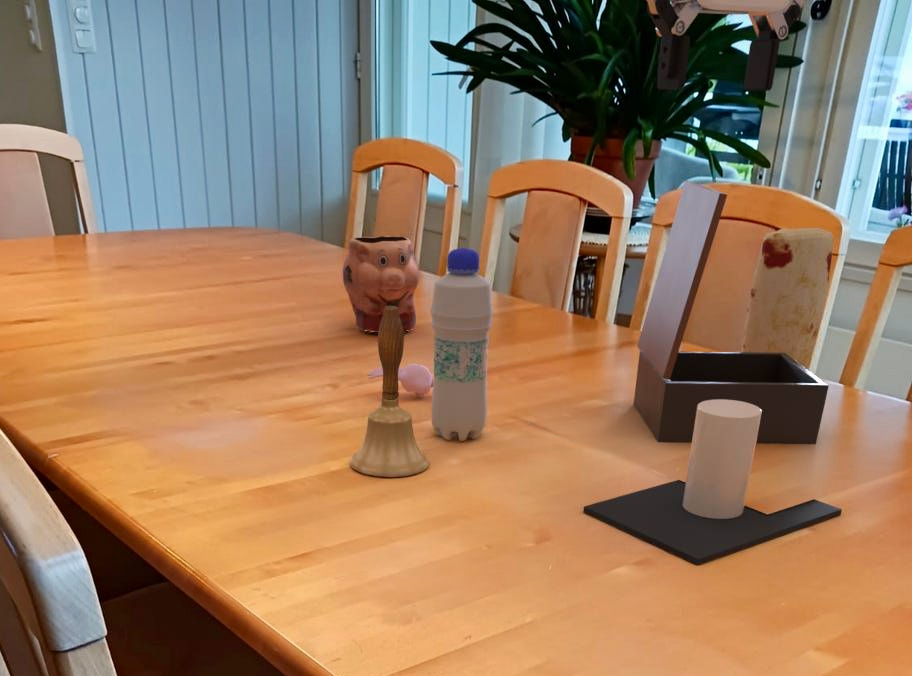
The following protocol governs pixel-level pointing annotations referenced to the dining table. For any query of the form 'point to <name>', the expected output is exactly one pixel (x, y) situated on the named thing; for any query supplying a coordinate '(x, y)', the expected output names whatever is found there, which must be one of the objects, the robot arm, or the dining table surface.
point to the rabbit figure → (410, 378)
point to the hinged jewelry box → (732, 394)
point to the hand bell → (390, 414)
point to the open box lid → (680, 275)
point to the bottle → (460, 347)
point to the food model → (788, 293)
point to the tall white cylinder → (721, 458)
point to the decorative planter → (381, 279)
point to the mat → (701, 522)
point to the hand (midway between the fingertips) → (714, 89)
